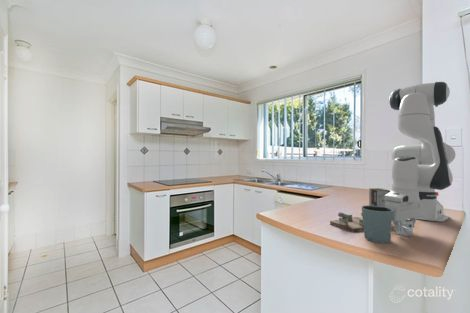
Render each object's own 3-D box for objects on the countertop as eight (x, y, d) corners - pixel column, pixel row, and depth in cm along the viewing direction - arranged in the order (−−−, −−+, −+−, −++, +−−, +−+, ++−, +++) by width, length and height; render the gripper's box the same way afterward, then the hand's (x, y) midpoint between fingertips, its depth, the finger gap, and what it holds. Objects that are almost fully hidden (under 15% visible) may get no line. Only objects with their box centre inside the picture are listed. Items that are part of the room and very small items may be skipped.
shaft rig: (358, 219, 110) (358, 205, 110) (382, 226, 99) (382, 211, 99) (328, 224, 101) (328, 209, 101) (351, 232, 90) (351, 215, 90)
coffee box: (391, 225, 101) (391, 190, 101) (376, 224, 102) (376, 190, 102) (382, 219, 110) (382, 188, 110) (368, 219, 111) (368, 187, 111)
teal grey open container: (399, 242, 80) (399, 210, 80) (378, 245, 77) (378, 212, 77) (374, 233, 90) (375, 204, 90) (355, 235, 87) (355, 205, 87)
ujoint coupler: (401, 232, 92) (401, 218, 92) (413, 235, 88) (413, 221, 88) (395, 233, 90) (395, 219, 90) (408, 237, 86) (408, 222, 86)
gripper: (410, 192, 96) (410, 223, 96) (381, 195, 88) (381, 229, 88) (427, 195, 90) (427, 228, 90) (398, 198, 82) (398, 235, 82)
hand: (404, 229), depth 89 cm, fingers open, 8 cm apart
